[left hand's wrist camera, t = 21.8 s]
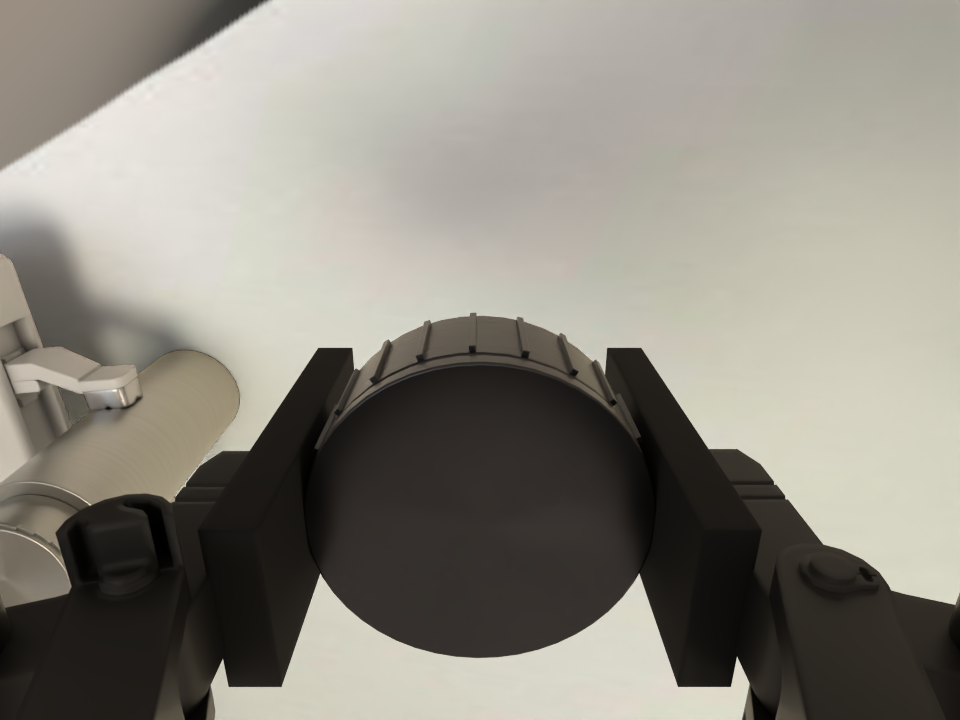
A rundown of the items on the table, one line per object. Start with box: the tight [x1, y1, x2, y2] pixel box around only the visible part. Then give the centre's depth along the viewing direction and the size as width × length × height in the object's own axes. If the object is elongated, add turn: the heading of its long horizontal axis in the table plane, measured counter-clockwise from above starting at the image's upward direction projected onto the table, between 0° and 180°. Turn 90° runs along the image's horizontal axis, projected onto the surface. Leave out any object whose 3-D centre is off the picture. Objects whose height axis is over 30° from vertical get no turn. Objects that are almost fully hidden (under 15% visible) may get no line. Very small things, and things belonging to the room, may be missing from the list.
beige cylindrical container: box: [0, 350, 239, 608], centre depth 29 cm, size 5×5×16 cm
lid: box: [303, 313, 656, 658], centre depth 11 cm, size 6×6×2 cm
